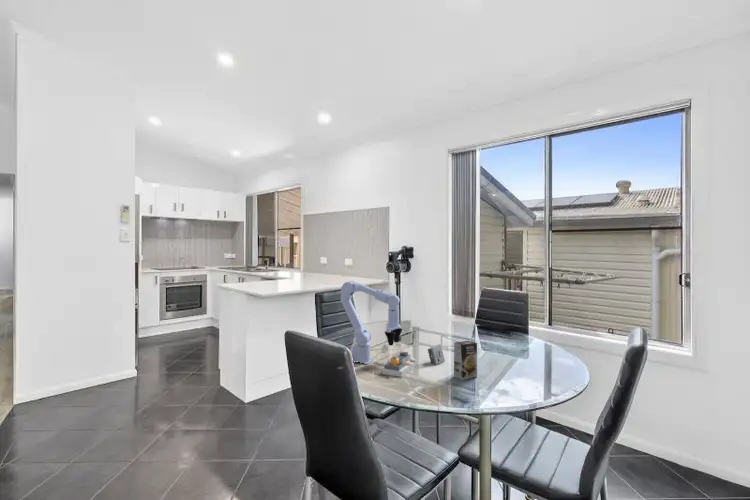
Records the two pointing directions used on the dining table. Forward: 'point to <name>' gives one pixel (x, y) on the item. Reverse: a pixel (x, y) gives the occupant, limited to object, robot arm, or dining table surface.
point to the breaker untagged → (404, 354)
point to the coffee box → (465, 359)
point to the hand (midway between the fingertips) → (393, 343)
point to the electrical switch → (436, 354)
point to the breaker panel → (400, 367)
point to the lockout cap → (395, 361)
